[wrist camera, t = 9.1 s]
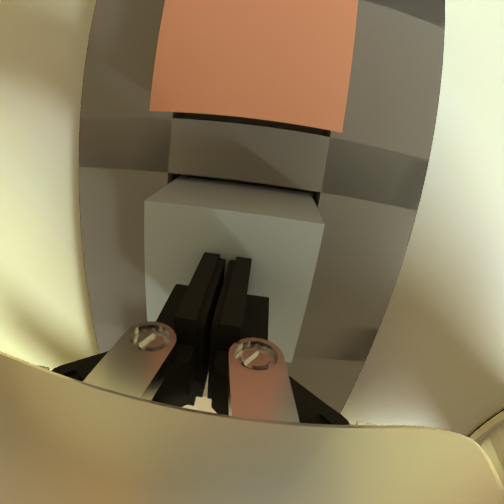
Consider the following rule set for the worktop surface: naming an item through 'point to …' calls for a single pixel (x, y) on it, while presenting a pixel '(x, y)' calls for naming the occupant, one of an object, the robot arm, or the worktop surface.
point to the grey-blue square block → (235, 244)
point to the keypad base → (266, 174)
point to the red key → (256, 59)
